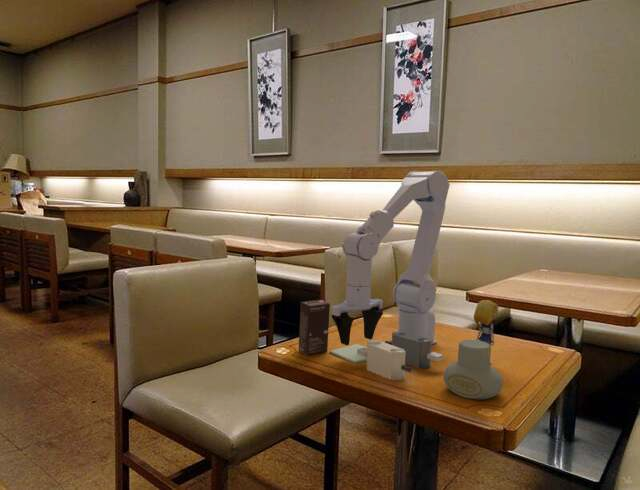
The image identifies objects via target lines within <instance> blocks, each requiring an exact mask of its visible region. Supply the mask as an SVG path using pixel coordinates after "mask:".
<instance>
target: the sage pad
mask: <svg viewBox="0 0 640 490" xmlns="http://www.w3.org/2000/svg"><path fill="white" fill-rule="evenodd" d="M361 348H366V349H367V346H364V345H361V344H359V343H355V344H352V345H346V346H344V347H343V346H342V347H340V348H339V347H338V348H334V349H331V350H329V354H332V355H335V356H336V357H339V358H341V359H342V360H343V359H344V360H346V361H348V362H350V363H353V364H355V365H356V364H360V363H364V362H366V357H364V356H361V355H359V354H357V349H361Z"/></svg>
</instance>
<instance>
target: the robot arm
mask: <svg viewBox="0 0 640 490" xmlns="http://www.w3.org/2000/svg"><path fill="white" fill-rule="evenodd" d="M450 185H451V184H450V182H449V179H448V177H447V176H446V174H445V172H443V171H442V170H434V171H410V172H409V173H407V174H406V176H405V177H404V178H403V179H402V180H401V185H400V187H399V189H397V190H396V192H395V193H394V194H393V196H392V197H391V198H390V199H389V201H388V202H387V204H386V205H385V206H384V207H383V209H376V210H375V211H371V212H370V213H369V217H368V218H367V219H366V220H365V221H364V223H363V224H361V226H359V227H358V228H357V230H356V232H353V233H352V232H351V233H350V234H348V235H347V237H345V240H344V241H343V243H342V245H341V247H342V249H341V250H342V252H343V253H344V254H345V255H344V256H345V262H346V287H345V288H346V289H345V290H346V291H345V292H346V293H345V300H344V302H342V303H339V304H337V305H332V306H331V318H332V320H333V322H334V323H335V326H336V328H337V331H338V334H339V335H338V336H339V340H340V344H342V345H344V346H350V339H351V329H352V325H353V323H354V319H355V318H354V317H352V316H350V314H351V313H357V312H361V314H362V319H363V335H364V338H365V339H367V340H369V341H370V340H373V337H374V334H375V331H376V328H377V325H378V324H379V321H380V319H381V318H382V316H383V315H384V311H383V309H382V308H383V302H384V301H383V299H379V298H374V299H373V298H372V297H371V296H372V294H371V293H372V270H373V268H372V266H373V265H372V264H373V258H374V257H376V256H377V254H378V250H379V246H380V244H381V242H382V241H383V239H384V238H385V236H387V235H388V234H389V232H391V230H392V229H393V228H394V226H395V225H394V223H395V222H394V219H395V218H396V217H397V216H399V214H400V213H402V211H404V210H405V209H406V208H407V207H408V205H410V203H412V202H413V201H414V202H415V203H416V204H417V206H419V207H420V209H421V214H420V220H419V223H418V228H417V233H416V236H415V239H414V244H413V248H412V252H411V256H410V260H409V265H408V268H407V269H406V271H404V272H403V273H401V274H400V275H399V276H398V281H397V283H396V284H395V286H394V288H393V291H392V297H393V300H394V302H395V303H396V308H398V318H397V321H398V322H397V323H398V324H397V332H405V333H409V334H413V335H417V336H421V337H424V338H428V339H430V340H432V344H431V345H434V344H437V340H435V331H436V317H435V314H434V311H433V310H432V307H433V306H434V304H435V300H436V294H435V293H436V286H437V284H436V282H435V281H434V279H433V278H432V276H431V275H430V272H431V269H432V265H433V261H434V256H435V253H436V252H435V251H436V248H437V245H438V240H439V235H440V231H441V227H442V224H443V220H444V215H445V211H446V202H447V197H448V193H449V190H450V189H449V188H450ZM417 283H418V284H417ZM371 298H372V299H371ZM389 342H392V338H391V339H390V341H389Z"/></svg>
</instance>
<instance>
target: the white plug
mask: <svg viewBox="0 0 640 490" xmlns="http://www.w3.org/2000/svg"><path fill="white" fill-rule="evenodd" d="M366 347H367V349H366V348H361V349H357V354H359V355H361V356H364V357H366V361H365V362H366V363H365V369H366V370H367V371H368V372H370V371H371V372H370V373H373V374H375V373H376V375H377V376H380V375H381V377H383V378H385V379H387V378H388V379H387V380H390V381H395V380H398V381H399V380H401V381H404V380H405V372H408V373H412V370H413V368H412V367H409V366H407V365H406V364H405V350H404V349H401V348H398V347H396V346H393V345H390V344H387V343H385V341H381V340H376V339H371V340H370V339H369V340H368V341H366ZM391 379H392V380H391ZM403 379H404V380H403ZM398 381H397V382H398ZM399 382H400V381H399Z"/></svg>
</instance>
